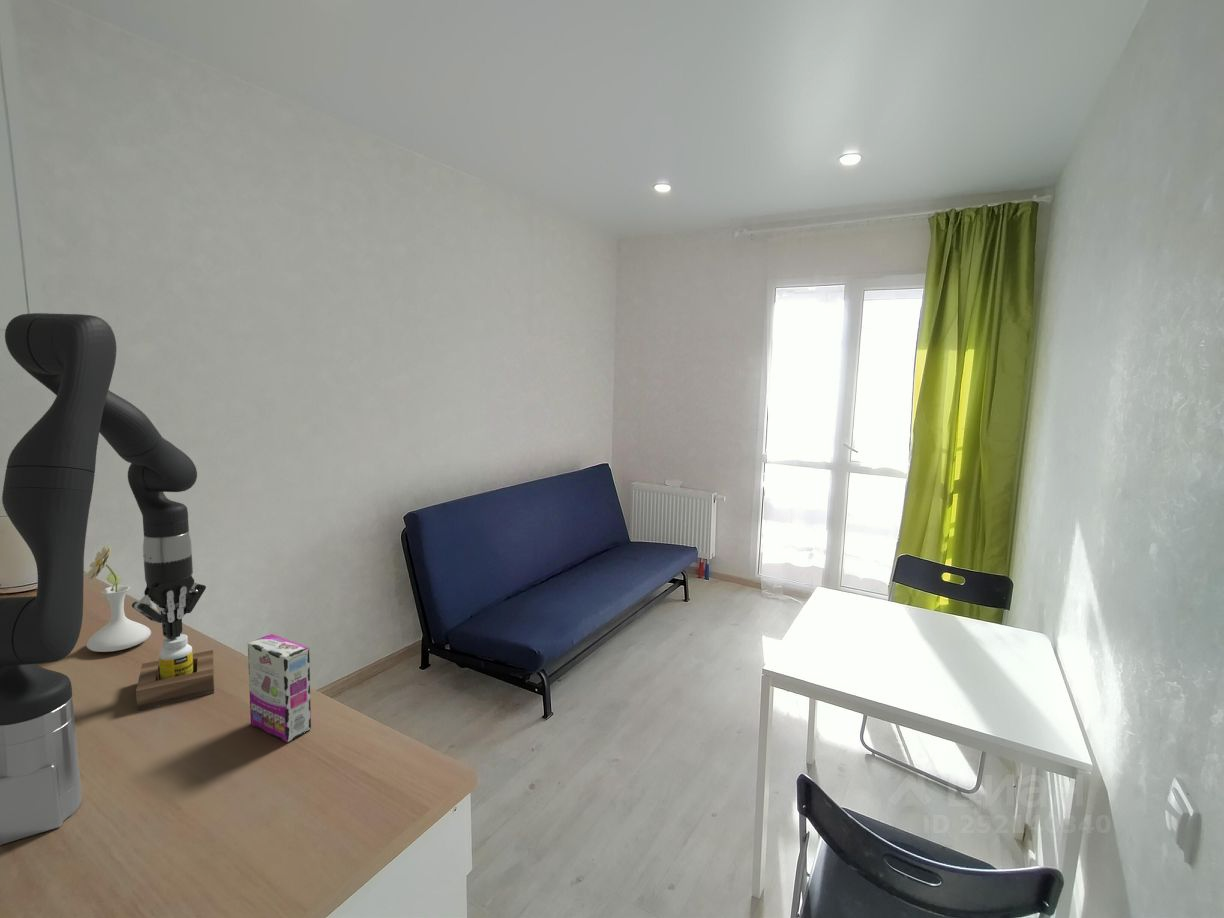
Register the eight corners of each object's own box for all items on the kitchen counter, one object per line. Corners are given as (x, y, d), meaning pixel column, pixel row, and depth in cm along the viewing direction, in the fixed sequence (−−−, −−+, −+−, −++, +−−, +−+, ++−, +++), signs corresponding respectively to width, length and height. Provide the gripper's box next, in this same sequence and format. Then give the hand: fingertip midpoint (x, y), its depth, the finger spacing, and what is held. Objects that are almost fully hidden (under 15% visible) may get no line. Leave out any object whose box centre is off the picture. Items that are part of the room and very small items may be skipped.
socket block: (214, 692, 114) (213, 674, 113) (137, 710, 107) (135, 691, 106) (213, 666, 124) (213, 649, 123) (143, 681, 117) (142, 663, 116)
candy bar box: (313, 729, 104) (311, 646, 102) (287, 744, 100) (284, 658, 97) (275, 711, 109) (272, 632, 107) (249, 724, 105) (245, 642, 102)
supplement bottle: (175, 692, 112) (172, 646, 110) (153, 687, 113) (150, 642, 112) (200, 678, 117) (198, 634, 116) (179, 674, 118) (176, 630, 117)
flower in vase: (96, 638, 133) (88, 537, 130) (157, 631, 138) (150, 533, 135) (75, 664, 122) (65, 554, 118) (142, 655, 127) (134, 549, 123)
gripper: (143, 567, 104) (149, 655, 106) (214, 549, 116) (218, 628, 118) (117, 561, 106) (123, 647, 108) (189, 543, 118) (194, 621, 121)
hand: (173, 637), depth 113 cm, fingers closed
